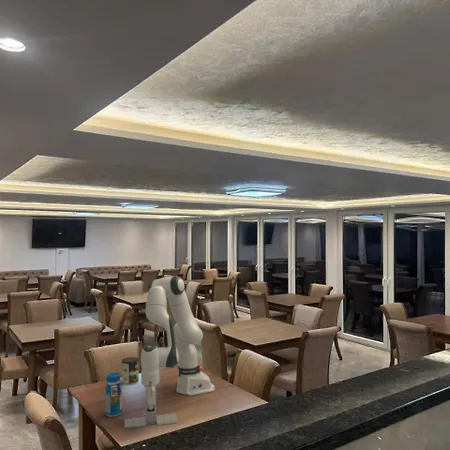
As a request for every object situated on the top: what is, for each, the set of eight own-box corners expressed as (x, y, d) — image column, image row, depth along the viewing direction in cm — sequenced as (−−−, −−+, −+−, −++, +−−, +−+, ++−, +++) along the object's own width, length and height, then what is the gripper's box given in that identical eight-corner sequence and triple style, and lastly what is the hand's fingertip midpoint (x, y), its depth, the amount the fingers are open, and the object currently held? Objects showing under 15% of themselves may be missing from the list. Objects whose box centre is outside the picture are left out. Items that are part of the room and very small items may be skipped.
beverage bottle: (101, 416, 214) (101, 376, 214) (111, 409, 221) (111, 371, 222) (115, 418, 211) (115, 378, 211) (125, 411, 218) (125, 372, 219)
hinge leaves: (175, 415, 213) (175, 403, 213) (177, 422, 204) (177, 410, 204) (124, 421, 207) (124, 408, 207) (124, 429, 198) (124, 416, 198)
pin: (152, 412, 207) (152, 397, 207) (153, 414, 205) (152, 399, 205) (147, 412, 207) (147, 398, 207) (148, 414, 204) (147, 400, 204)
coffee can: (140, 379, 268) (140, 356, 268) (136, 384, 257) (136, 361, 258) (124, 379, 268) (124, 357, 268) (120, 385, 257) (119, 362, 258)
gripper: (158, 385, 197) (158, 415, 196) (155, 371, 217) (155, 398, 216) (144, 387, 195) (145, 417, 195) (142, 373, 215) (143, 400, 215)
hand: (150, 407), depth 206 cm, fingers closed on pin, 2 cm apart
